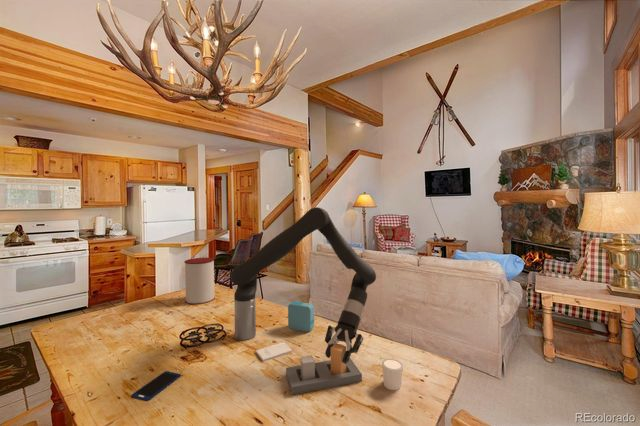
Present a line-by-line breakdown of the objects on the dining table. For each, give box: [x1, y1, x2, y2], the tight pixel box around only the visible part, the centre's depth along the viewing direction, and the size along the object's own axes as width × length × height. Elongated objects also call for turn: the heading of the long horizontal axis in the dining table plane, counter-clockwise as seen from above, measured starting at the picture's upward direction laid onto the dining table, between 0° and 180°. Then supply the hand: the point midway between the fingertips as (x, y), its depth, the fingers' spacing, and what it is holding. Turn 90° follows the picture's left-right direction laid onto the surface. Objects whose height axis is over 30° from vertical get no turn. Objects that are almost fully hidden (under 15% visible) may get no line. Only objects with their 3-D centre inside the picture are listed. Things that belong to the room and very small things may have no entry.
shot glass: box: [381, 358, 404, 391], centre depth 94 cm, size 7×7×7 cm
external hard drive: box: [255, 341, 293, 363], centre depth 114 cm, size 2×8×12 cm
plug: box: [330, 343, 347, 375], centre depth 99 cm, size 4×4×10 cm
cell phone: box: [130, 370, 182, 402], centre depth 94 cm, size 7×14×1 cm, turn 163°
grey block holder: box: [285, 354, 363, 396], centre depth 97 cm, size 24×11×8 cm, turn 106°
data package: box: [287, 300, 315, 333], centre depth 136 cm, size 12×4×12 cm, turn 66°
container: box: [184, 257, 216, 305], centre depth 177 cm, size 17×17×25 cm
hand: (335, 359), depth 97 cm, fingers open, 6 cm apart
